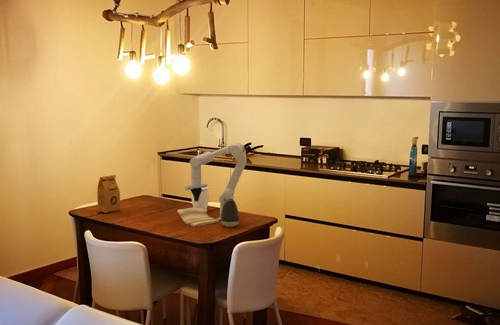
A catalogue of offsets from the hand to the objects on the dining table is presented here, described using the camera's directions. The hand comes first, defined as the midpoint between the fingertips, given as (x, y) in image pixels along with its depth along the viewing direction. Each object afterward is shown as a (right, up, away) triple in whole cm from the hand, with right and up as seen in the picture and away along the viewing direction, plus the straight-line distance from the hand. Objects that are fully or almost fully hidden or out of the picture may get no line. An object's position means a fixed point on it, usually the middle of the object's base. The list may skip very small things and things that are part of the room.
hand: (196, 201), depth 300 cm
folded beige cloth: (+4, -11, -10) cm, 16 cm away
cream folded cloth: (-2, -8, -3) cm, 8 cm away
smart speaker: (+20, -13, -16) cm, 28 cm away
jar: (+1, -8, +18) cm, 19 cm away
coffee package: (-54, -8, +16) cm, 57 cm away
